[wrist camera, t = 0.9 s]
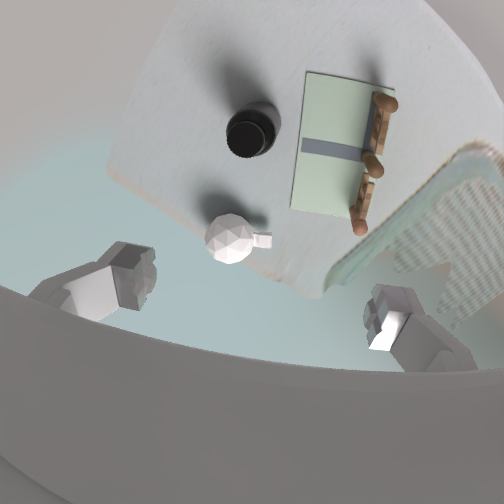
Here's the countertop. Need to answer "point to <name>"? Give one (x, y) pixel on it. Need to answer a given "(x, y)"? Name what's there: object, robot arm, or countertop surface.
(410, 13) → the countertop surface
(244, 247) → the perfume bottle
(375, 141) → the fence fixed
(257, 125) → the supplement bottle
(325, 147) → the mat
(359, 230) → the fence gate
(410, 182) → the countertop surface
